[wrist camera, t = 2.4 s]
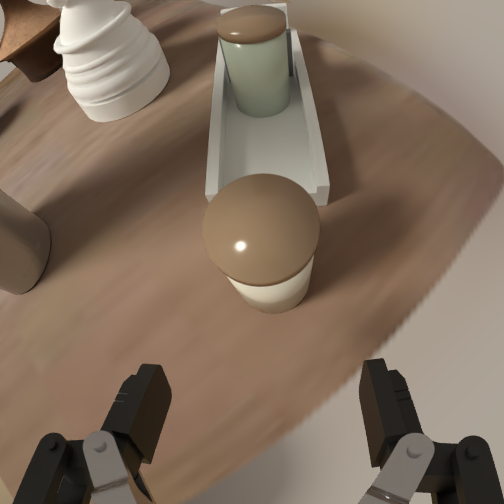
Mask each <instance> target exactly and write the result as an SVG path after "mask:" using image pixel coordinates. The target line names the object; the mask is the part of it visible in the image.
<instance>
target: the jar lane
mask: <svg viewBox="0 0 504 504" xmlns="http://www.w3.org/2000/svg"><path fill="white" fill-rule="evenodd" d="M265 5H266V4H265ZM266 6H272V7H276V8H278V9H280V10H282V11H283V12H284V13H285V15H286V23H287V28H286V29H288V19H287V6H286V3H279V4H267V5H266ZM238 8H239V7H238ZM233 9H236V8H230V9H224V10H221V15H223V14H224V13H226V12H228V11H230V10H233ZM290 30H291V40H292V56H293V74H294V76H292V77H289V84H290V103H289V105H288V107H287V108H286V109H285V110H284V111H282V112H281V113H279V114H277V115H274V116H270V117H264V118H257V117H251V116H248V115H245V114H244V113H242V112H241V111H240V110H239V109H238V108H237V105H236V101H235V97H234V93H233V89H232V84H231V82H229V78H228V74H227V70H226V66H225V62H224V58H223V54H222V50H221V46H220V42H219V40H218V49H217V57H216V67H215V76H214V86H213V96H212V107H211V119H210V131H209V143H208V157H207V172H206V188H205V196H206V198H207V200H208V202H209V203H210V202H211V200H212V199H213V197H214V196H215V195H216V194H217V193H218V192H219V191H220V190H221V189H222V188H223V187H225V186H226V185H227V184H229V183H231V182H232V181H234V180H236V179H239V178H241V177H244V176H247V175H252V174H261V173H266V174H275V175H280V176H283V177H286V178H288V179H291V180H293V181H294V182H296V183H298V184H299V185H300V186H302V187H303V188H304V189H305V190H306V191H307V192H308V193H309V195H310V196H311V197H312V199H313V201H314V202H315V204H316V206H326V205H327V201H328V195H329V189H330V182H329V176H328V170H327V165H326V159H325V153H324V148H323V143H322V138H321V132H320V127H319V122H318V118H317V113H316V108H315V104H314V99H313V95H312V90H311V86H310V82H309V77H308V73H307V69H306V65H305V61H304V57H303V53H302V49H301V46H300V42H299V38H298V34H297V31H296V29H290Z"/></svg>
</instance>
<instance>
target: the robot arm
mask: <svg viewBox="0 0 504 504" xmlns="http://www.w3.org/2000/svg"><path fill="white" fill-rule="evenodd" d="M49 251H50V233H49V229H48V227H47V225H46V223H45V222H44V221H42V220H41V219H40V218H38V217H37V216H36V215H34V214H33V213H31V212H30V211H29V210H27V209H26V208H24V207H23V206H22V205H21V204H19V203H18V202H17V201H15V200H14V199H12V198H11V197H10V196H8V195H7V194H6V193H4V192H3V191H2V190H1V189H0V289H2V290H5V291H7V292H10V293H13V294H22V293H25V292H27V291H28V290H29V289H31V288H32V287H33V286H34V285H35V283H36V282H37V281H38V279H39V278H40V276H41V275H42V273H43V270H44V268H45V266H46V263H47V260H48V256H49ZM118 393H119V394H117V396H116V398H115V402H114V403H113V405H112V407H111V409H110V411H109V413H108V415H107V417H106V419H105V421H104V424H103V426H102V428H101V430H100V431H95V432H93V433H91V434H89V435H88V436H87V437H86V439H85V440H71V441H67V440H66V439H65V438H64V437H63V436H62V435H61V434H59V433H49V434H47V435H45V436H44V437H43V438H42V439H41V440H40V442H39V444H38V446H37V448H36V451H35V453H34V455H33V457H32V459H31V461H30V464H29V466H28V468H27V470H26V473H25V475H24V477H23V480H22V482H21V484H20V487H19V489H18V491H17V494H16V496H15V499H14V502H13V504H89V503H90V500H91V497H92V500H93V503H94V504H156V502H155V500H154V498H153V496H152V494H151V492H150V490H149V488H148V486H147V484H146V482H145V480H144V478H143V476H142V473H141V471H140V470H139V468H140V465H141V463H146V464H151V462H152V459H153V455H154V452H155V449H156V446H157V443H158V440H159V437H160V434H161V431H162V428H163V425H164V422H165V418H166V415H167V412H168V409H169V406H170V403H171V399H172V392H171V388H170V386H169V383H168V381H167V378H166V376H165V373H164V371H163V368H162V366H161V365H156V364H142V365H141V366H140V368H139V370H138V372H137V374H136V375H131V376H130V377H129V378H128V379H127V380H126V381H124V382H123V384H122V386H121V388H120V390H119V392H118ZM359 399H360V404H361V409H362V414H363V419H364V425H365V430H366V436H367V441H368V447H369V453H370V459H371V466H372V468H373V467H379V466H380V470H381V472H380V473H379V475H378V476H377V478H376V479H375V481H374V482H373V484H372V485H371V487H370V488H369V489H368V490H367V492H366V493H365V494H364V496H363V497H362V499H361V500H360V502H359V503H358V504H409V502H410V500H411V498H412V496H413V494H414V492H423V493H431V497H432V504H504V498H503V494H502V490H501V486H500V482H499V479H498V475H497V471H496V468H495V464H494V461H493V457H492V454H491V451H490V448H489V445H488V443H487V442H486V441H485V440H484V439H483V438H481V437H479V436H468V437H465V438H464V439H462V440H461V441H460V442H459V443H458V444H450V443H449V444H448V443H437V442H434V441H432V440H431V439H430V438H429V437H428V436H426V435H425V434H424V433H423V431H422V429H421V425H420V422H419V419H418V416H417V413H416V410H415V407H414V404H413V401H412V400H411V395H410V392H409V391H408V386H407V383H406V381H405V378H404V377H403V376H402V375H401V374H400V373H399V372H398V371H397V370H390V371H388V370H387V367H386V364H385V361H384V359H383V358H380V359H372V360H365V361H364V363H363V368H362V374H361V380H360V385H359ZM63 476H64V477H63ZM62 478H63V479H62ZM61 481H62V482H61ZM60 483H61V485H60ZM59 486H60V487H59ZM58 489H59V490H58ZM57 492H58V493H57Z"/></svg>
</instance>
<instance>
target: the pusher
mask: <svg viewBox="0 0 504 504" xmlns="http://www.w3.org/2000/svg"><path fill="white" fill-rule="evenodd" d="M286 39H287V52H288V67H289V77H292V76H294V74H293V56H292V40H291V30H290V29H286ZM219 42H220V46H221V50H222V54H223V58H224V62H225V66H226V70H227V74H228V78H229V82H231V80H230V76H229V72H228V68H227V64H226V60H225V56H224V51H223V47H222V43H221V39H220V37H219Z"/></svg>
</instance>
